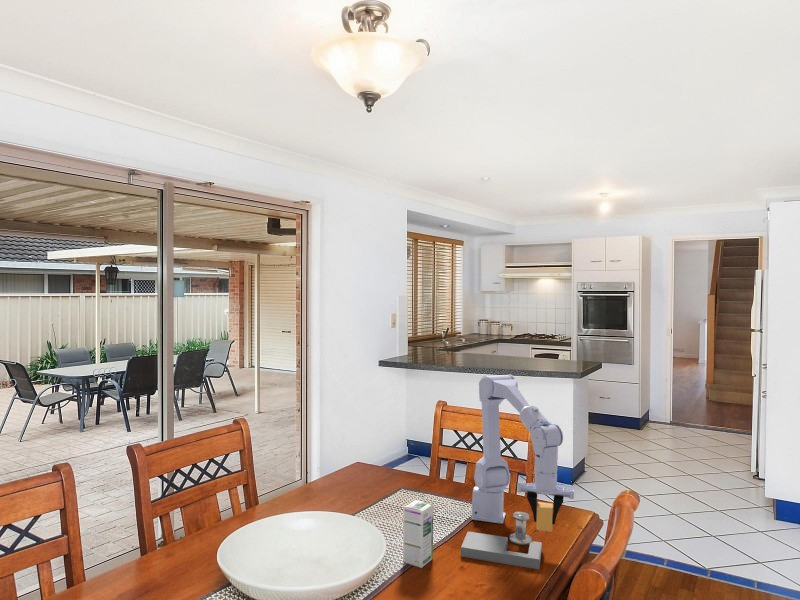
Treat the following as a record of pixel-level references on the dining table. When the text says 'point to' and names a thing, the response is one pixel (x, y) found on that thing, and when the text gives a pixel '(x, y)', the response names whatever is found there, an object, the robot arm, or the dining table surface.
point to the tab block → (544, 516)
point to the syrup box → (418, 533)
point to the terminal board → (499, 550)
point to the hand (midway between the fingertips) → (544, 521)
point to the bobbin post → (520, 529)
